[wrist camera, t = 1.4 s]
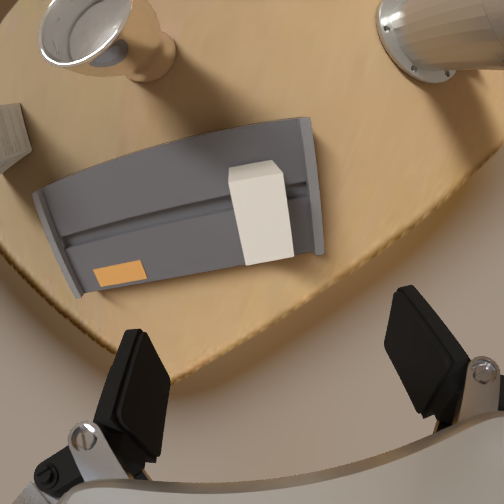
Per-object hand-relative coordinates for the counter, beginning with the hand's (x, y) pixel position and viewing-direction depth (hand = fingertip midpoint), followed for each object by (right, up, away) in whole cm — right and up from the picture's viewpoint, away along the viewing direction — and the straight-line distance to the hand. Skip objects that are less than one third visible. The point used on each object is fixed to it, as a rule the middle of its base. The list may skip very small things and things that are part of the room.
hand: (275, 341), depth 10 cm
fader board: (-9, +8, +20) cm, 24 cm away
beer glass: (-11, +23, +13) cm, 29 cm away
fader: (0, +9, +18) cm, 20 cm away
